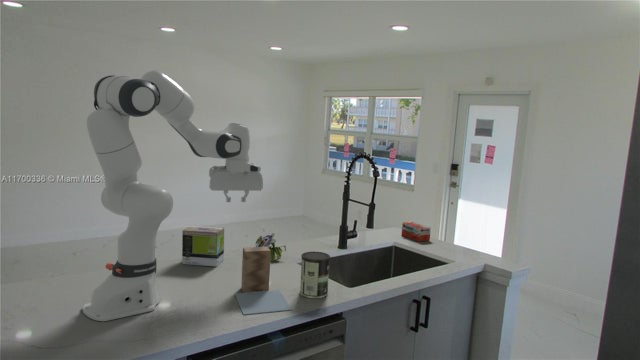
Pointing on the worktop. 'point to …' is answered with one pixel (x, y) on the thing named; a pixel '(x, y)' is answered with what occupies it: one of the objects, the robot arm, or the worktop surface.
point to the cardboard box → (255, 269)
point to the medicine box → (415, 231)
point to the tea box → (203, 245)
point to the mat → (262, 302)
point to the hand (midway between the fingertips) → (235, 201)
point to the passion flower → (268, 243)
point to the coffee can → (314, 274)
